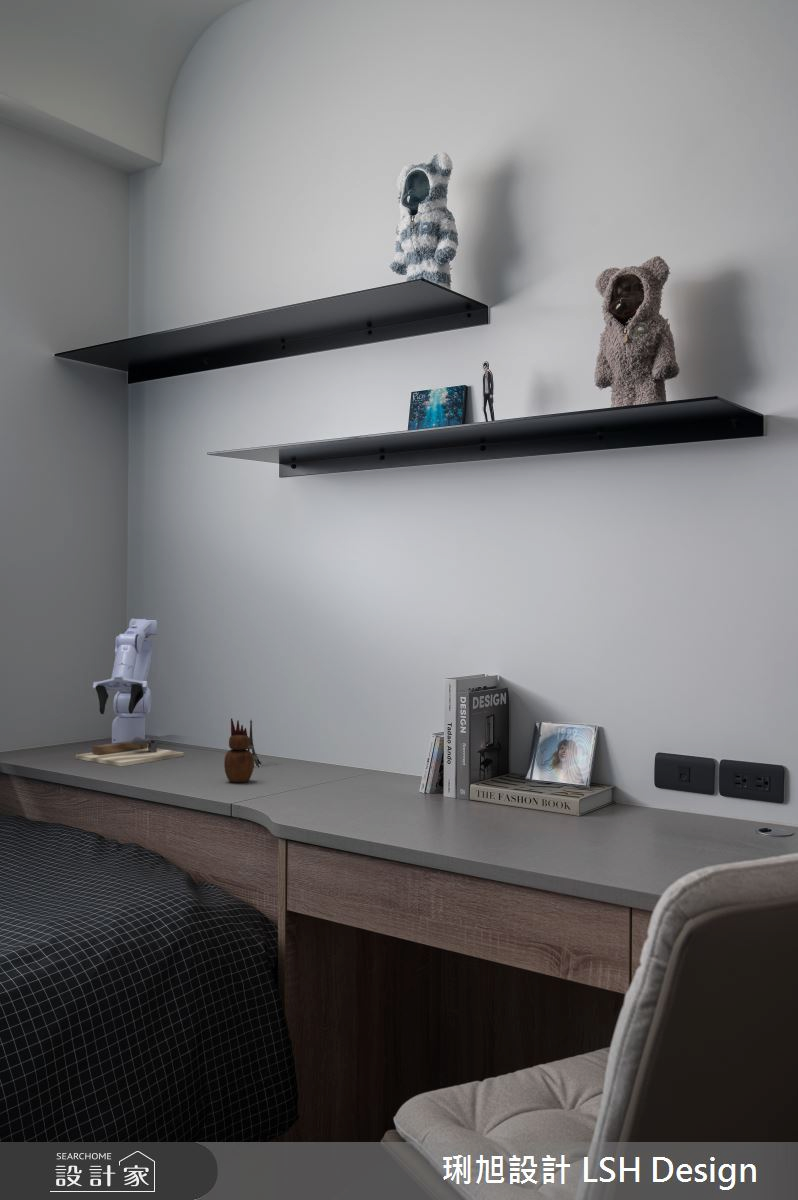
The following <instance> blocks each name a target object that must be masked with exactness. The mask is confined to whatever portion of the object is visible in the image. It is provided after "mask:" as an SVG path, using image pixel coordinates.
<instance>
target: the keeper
mask: <svg viewBox="0 0 798 1200" xmlns="http://www.w3.org/2000/svg"><path fill="white" fill-rule="evenodd" d="M132 743H134V744H146V743H147V744H148V751H149V752H150V753H155V752H157V749H158V747H157V746H158V744H157V743H158V741H157V739H156V738H154V737H151V738H149V737H148V738H146V737H145V739H132Z"/></svg>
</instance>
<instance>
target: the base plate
mask: <svg viewBox="0 0 798 1200" xmlns="http://www.w3.org/2000/svg"><path fill="white" fill-rule="evenodd" d="M184 756H185V752H183V751H176V750H171V749H170V750H169V749H162V748H157V752H155V753H150V752H149V751H148V747H147V748H142V749H135V750H128V751H121V752H114V753H108V754H101V755H99V754H93V752H86V753H81V754H75V759H77V760H80V761H88V762H92V763H98V764H99V763H100V764H105V765H110V766H116V767H126V766H132V765H138V764H139V765H140V764H144V763H150V762H157V761H162V760H168V759H175V758H180V757H181V758H182V757H184Z"/></svg>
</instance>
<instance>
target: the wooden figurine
mask: <svg viewBox="0 0 798 1200" xmlns="http://www.w3.org/2000/svg"><path fill="white" fill-rule="evenodd" d="M249 745H250V740H249V736H248V731H247V727H245V728H244V725H243V724H241V726H240V721H239V720H237V722H236V727H235V723H234V721H233V718H230V737H229V739H228V746H229V747H228V748H229V749H230V750H228V751H227V752H226V753H225V756H224V760H223V761H224V763H223V764H224V772H225V776H226V778H227V780H228V781H229V782H231V783H234V782H243V783H246V782H248V781H250V779H251V777H252V774H253V772H254V768H255V767H254V764H255V762H254V757H253V755H252V751H251V750H250V751H248V748H249Z"/></svg>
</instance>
